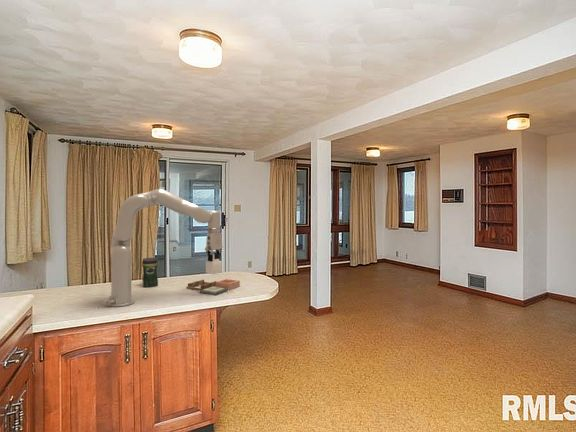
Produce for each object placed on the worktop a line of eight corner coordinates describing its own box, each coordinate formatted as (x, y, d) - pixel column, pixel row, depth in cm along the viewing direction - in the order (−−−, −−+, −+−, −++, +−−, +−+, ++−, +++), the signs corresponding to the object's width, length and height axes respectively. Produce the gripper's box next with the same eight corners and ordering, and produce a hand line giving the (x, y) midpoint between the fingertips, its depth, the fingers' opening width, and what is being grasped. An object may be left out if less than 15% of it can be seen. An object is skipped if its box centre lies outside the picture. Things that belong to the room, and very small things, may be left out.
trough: (200, 290, 208) (200, 286, 208) (186, 288, 213) (186, 284, 213) (218, 285, 223) (218, 280, 223) (204, 283, 229) (204, 279, 228)
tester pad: (214, 293, 199) (214, 291, 199) (203, 291, 203) (203, 289, 203) (224, 290, 207) (224, 288, 207) (212, 288, 211) (212, 286, 211)
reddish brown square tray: (229, 290, 210) (229, 283, 210) (215, 288, 215) (215, 282, 215) (239, 286, 220) (239, 280, 220) (226, 284, 225) (226, 278, 225)
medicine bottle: (214, 271, 210) (214, 252, 210) (222, 272, 206) (222, 253, 205) (205, 272, 205) (205, 253, 204) (212, 274, 200) (212, 254, 200)
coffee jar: (157, 284, 226) (157, 256, 225) (158, 286, 219) (158, 258, 218) (141, 285, 222) (141, 257, 221) (142, 288, 215) (142, 259, 214)
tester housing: (215, 295, 197) (215, 293, 197) (199, 293, 203) (199, 290, 203) (227, 291, 208) (227, 288, 208) (212, 288, 213) (212, 286, 213)
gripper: (209, 231, 195) (209, 262, 195) (227, 230, 211) (227, 259, 211) (199, 231, 198) (199, 261, 199) (218, 229, 214) (218, 258, 214)
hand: (213, 260), depth 205 cm, fingers closed on medicine bottle, 6 cm apart
